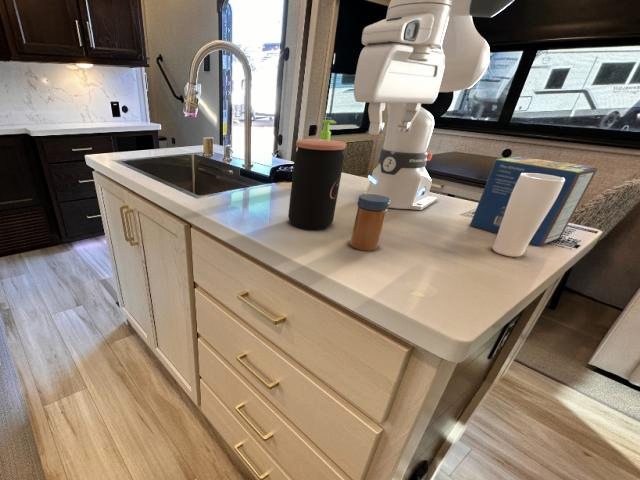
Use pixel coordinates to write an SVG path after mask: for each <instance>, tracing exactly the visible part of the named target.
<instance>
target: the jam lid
mask: <svg viewBox="0 0 640 480" xmlns="http://www.w3.org/2000/svg"><path fill="white" fill-rule="evenodd" d="M389 203H390V199H389V198H388V197H385V196H381V195H375V194H363V193H362V194H360V195H359V196H358V201H357V207H358V206H359V207H361V208H363V209H367V210H373V211H384V210H388V209H389Z"/></svg>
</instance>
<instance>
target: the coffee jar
mask: <svg viewBox="0 0 640 480" xmlns="http://www.w3.org/2000/svg"><path fill="white" fill-rule="evenodd" d="M295 146H296V147H297V148H296V151H295V152H294V158H293V167H292V175H291V176H292V178H291V185H290V186H291V187H290V196H289V205H288V216H287V217H288V221H289V223H290V225H292V226H293V227H295V228H298V229H302V230H307V231H322V230H326V229H327V228H329V227H330V226H331V225H332V223H333V222H334V218H335V213H336V208H337V207H336V206H337V201H338V196H339V190H340V184H341V178H342V172H343V167H344V161H345V154H344V150H345V149H346V148H347V143H346V142H344V141H340V140H333V139H332V140H331V139H330V140H322V139H320V138H305V139H298V140H295Z"/></svg>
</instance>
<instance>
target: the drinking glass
mask: <svg viewBox="0 0 640 480" xmlns="http://www.w3.org/2000/svg"><path fill="white" fill-rule="evenodd" d="M564 182H565V179H564V178H561V177H558V176H553V175H546V174H538V173H522V174H520V176H519V178H518V180H517V182H516V184H515V186H514V189H513V191H512V193H511V196H510V199H509V201H508V204H507V207H506V210H505V213H504V216H503V219H502V222H501V225H500V228H499V231H498V234H497V233H496V236H495V239H494V242H493V244H492V246H491V247H492V251H494V252H495V253H496V254H499V255H501V256H506V257H511V258H513V257H514V258H517V257H518V258H519V257H521V256H523V255H524V253H525V252H526V249H527V248H528V245H529V244H530V243H529V242H530V241H531V239H532V238H533V236H534V234H535V233H536V231H537V230H538V228H539V226H540V225H541V223H542V222H543V220H544V219H545V217H546V215H547V214H548V212H549V211H550V209H551V207H552V206H553V204H554V202H555V201H556V199H557V197H558V195H559V193H560V191H561V189H562V187H563V184H564Z"/></svg>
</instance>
